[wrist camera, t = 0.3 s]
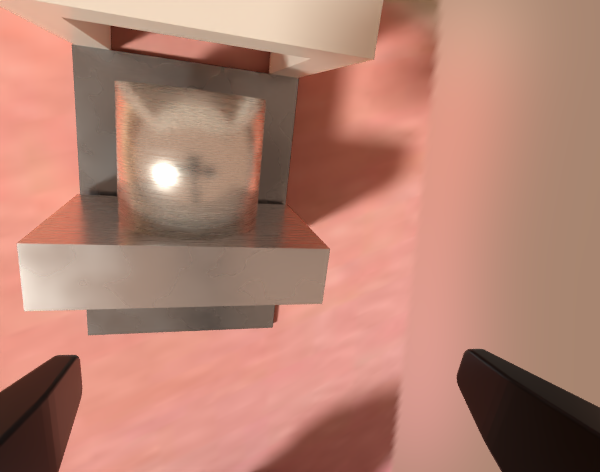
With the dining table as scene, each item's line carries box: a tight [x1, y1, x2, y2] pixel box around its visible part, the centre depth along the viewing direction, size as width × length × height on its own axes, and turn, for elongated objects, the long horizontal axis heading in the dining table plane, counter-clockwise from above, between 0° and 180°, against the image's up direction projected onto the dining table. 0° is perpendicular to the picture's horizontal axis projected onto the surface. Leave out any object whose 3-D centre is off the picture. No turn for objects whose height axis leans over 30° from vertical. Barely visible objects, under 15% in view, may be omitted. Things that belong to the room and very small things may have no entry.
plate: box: [72, 44, 299, 335], centre depth 22 cm, size 16×11×1 cm
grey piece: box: [17, 81, 330, 311], centre depth 17 cm, size 8×11×8 cm
